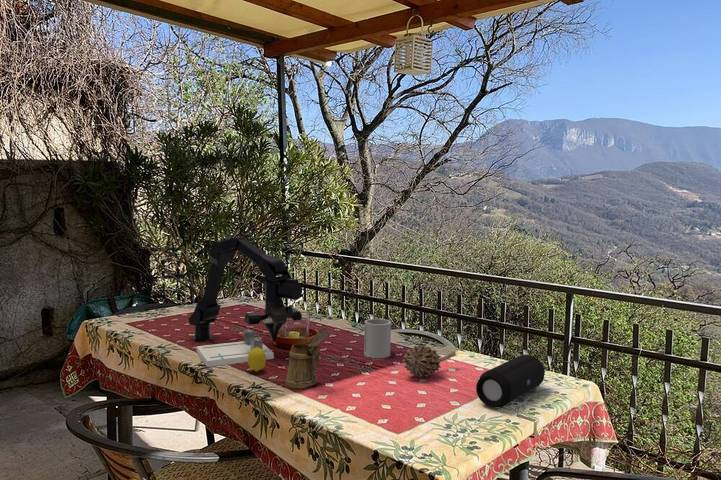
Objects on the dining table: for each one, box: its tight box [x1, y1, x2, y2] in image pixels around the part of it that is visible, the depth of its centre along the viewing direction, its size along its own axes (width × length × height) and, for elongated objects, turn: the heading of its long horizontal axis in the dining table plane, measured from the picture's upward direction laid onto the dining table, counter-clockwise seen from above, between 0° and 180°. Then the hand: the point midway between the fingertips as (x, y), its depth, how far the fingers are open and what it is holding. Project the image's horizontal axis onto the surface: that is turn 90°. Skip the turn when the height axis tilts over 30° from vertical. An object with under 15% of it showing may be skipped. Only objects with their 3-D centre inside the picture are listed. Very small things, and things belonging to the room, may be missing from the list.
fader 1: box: [242, 328, 256, 344], centre depth 190 cm, size 4×3×4 cm
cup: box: [363, 318, 392, 358], centre depth 184 cm, size 9×9×12 cm
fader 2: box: [251, 337, 264, 350], centre depth 179 cm, size 4×3×4 cm
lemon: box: [247, 347, 267, 373], centre depth 165 cm, size 6×6×8 cm
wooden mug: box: [284, 327, 328, 389], centre depth 154 cm, size 9×14×18 cm, turn 54°
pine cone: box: [402, 344, 458, 378], centre depth 166 cm, size 22×10×10 cm, turn 133°
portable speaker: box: [475, 354, 546, 408], centre depth 148 cm, size 26×10×10 cm, turn 138°
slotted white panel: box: [196, 340, 275, 368], centre depth 182 cm, size 18×22×2 cm
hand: (273, 341), depth 182 cm, fingers closed
